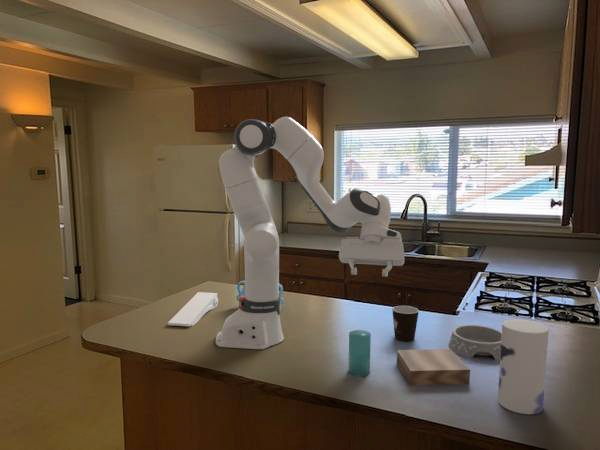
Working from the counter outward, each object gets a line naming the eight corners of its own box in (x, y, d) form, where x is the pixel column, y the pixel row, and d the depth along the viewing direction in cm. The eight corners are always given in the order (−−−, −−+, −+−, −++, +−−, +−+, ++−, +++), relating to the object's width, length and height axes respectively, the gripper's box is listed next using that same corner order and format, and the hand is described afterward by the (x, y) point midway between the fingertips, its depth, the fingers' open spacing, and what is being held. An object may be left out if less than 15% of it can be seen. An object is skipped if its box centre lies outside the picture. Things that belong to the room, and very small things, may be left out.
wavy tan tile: (410, 385, 125) (410, 370, 124) (396, 363, 139) (397, 350, 138) (469, 384, 125) (470, 369, 125) (450, 362, 139) (450, 349, 139)
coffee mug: (418, 344, 153) (419, 314, 152) (391, 342, 155) (392, 312, 154) (416, 331, 165) (417, 304, 163) (391, 330, 166) (392, 302, 165)
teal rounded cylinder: (350, 376, 130) (350, 337, 128) (347, 367, 136) (347, 330, 134) (371, 375, 130) (372, 337, 129) (367, 366, 136) (368, 329, 135)
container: (490, 395, 119) (494, 318, 117) (527, 393, 120) (533, 317, 118) (511, 416, 110) (516, 333, 107) (551, 414, 110) (558, 332, 108)
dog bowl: (516, 362, 140) (517, 345, 139) (452, 357, 143) (452, 340, 143) (502, 341, 157) (503, 326, 156) (445, 337, 160) (446, 322, 159)
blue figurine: (271, 301, 201) (271, 270, 199) (286, 312, 186) (286, 278, 185) (234, 306, 194) (234, 273, 192) (247, 317, 179) (246, 282, 178)
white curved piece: (190, 343, 169) (218, 309, 196) (193, 325, 167) (221, 294, 194) (164, 334, 170) (195, 302, 197) (167, 317, 168) (198, 287, 195)
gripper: (340, 230, 152) (333, 267, 144) (405, 233, 146) (402, 270, 138) (343, 242, 156) (337, 278, 148) (406, 244, 150) (403, 282, 142)
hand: (368, 274), depth 143 cm, fingers open, 8 cm apart
